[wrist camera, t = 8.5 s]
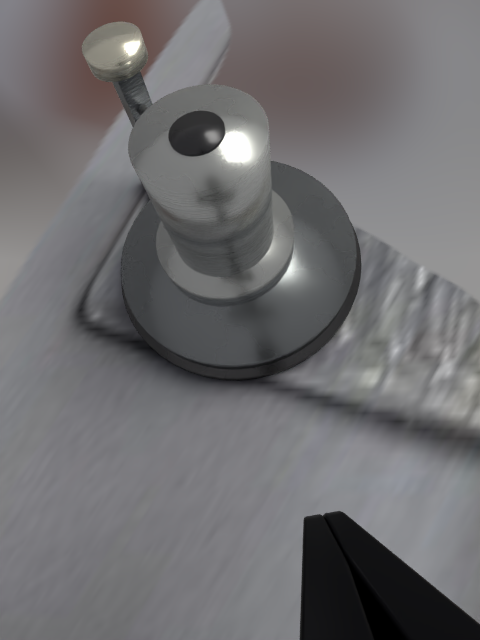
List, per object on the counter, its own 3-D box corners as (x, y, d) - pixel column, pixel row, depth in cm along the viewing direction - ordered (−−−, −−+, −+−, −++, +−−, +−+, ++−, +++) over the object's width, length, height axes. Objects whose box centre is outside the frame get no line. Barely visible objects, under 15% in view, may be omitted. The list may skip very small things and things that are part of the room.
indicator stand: (142, 179, 28) (72, 42, 19) (175, 158, 28) (123, 13, 19) (176, 222, 26) (117, 92, 17) (211, 199, 27) (172, 60, 17)
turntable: (404, 232, 24) (414, 215, 22) (266, 435, 20) (264, 433, 18) (218, 143, 29) (213, 123, 27) (79, 293, 25) (64, 282, 23)
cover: (319, 228, 22) (338, 101, 14) (240, 332, 21) (213, 251, 13) (216, 175, 25) (184, 42, 17) (137, 263, 23) (59, 160, 15)
